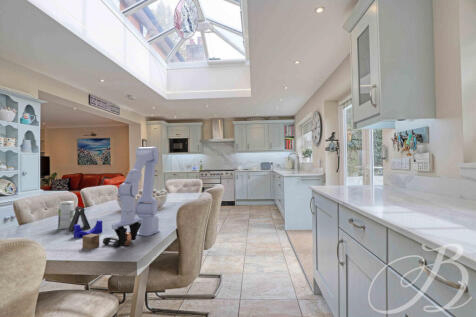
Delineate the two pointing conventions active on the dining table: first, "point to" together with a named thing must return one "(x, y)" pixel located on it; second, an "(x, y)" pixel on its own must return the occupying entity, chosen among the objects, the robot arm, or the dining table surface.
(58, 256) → the dining table surface
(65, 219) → the syrup box
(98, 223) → the cable clip
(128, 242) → the pin
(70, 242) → the dining table surface
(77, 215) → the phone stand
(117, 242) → the dolly
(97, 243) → the block
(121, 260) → the dining table surface
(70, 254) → the dining table surface
